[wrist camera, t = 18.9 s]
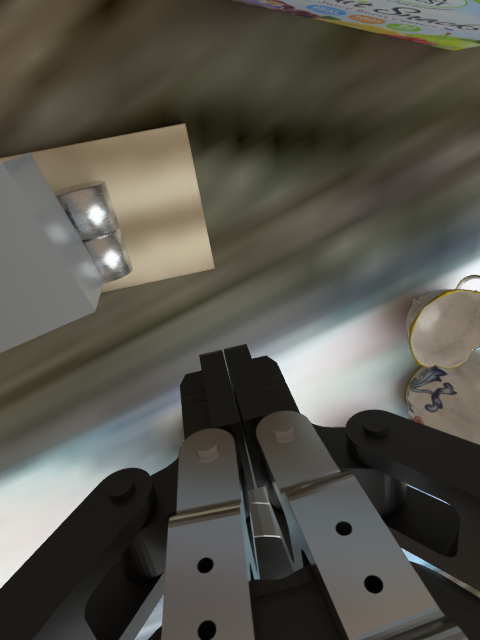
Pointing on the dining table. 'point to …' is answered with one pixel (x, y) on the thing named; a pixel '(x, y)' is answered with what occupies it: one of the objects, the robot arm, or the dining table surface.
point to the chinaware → (446, 361)
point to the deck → (141, 197)
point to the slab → (39, 258)
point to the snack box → (395, 18)
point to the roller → (97, 227)
